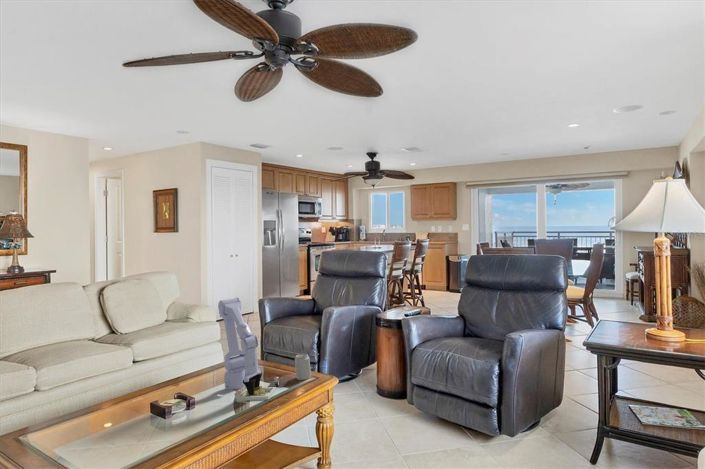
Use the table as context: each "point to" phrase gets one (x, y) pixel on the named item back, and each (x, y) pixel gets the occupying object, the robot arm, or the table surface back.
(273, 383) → the square base with knob
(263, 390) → the square frame with tab
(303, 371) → the can
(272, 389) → the tray
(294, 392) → the table surface
